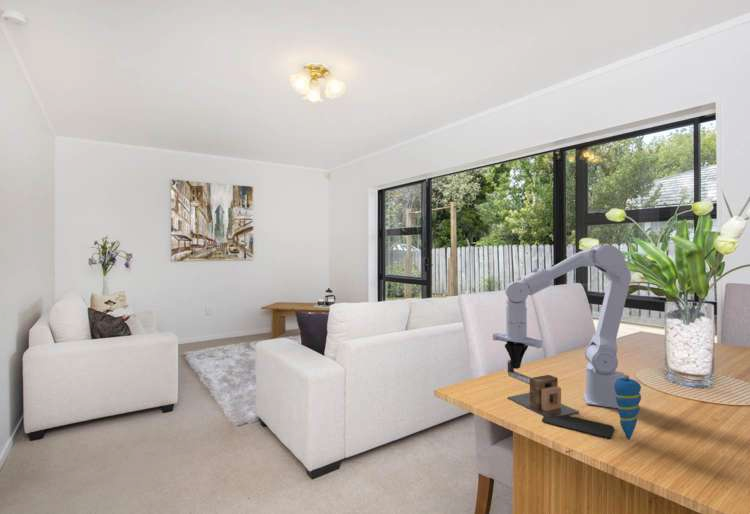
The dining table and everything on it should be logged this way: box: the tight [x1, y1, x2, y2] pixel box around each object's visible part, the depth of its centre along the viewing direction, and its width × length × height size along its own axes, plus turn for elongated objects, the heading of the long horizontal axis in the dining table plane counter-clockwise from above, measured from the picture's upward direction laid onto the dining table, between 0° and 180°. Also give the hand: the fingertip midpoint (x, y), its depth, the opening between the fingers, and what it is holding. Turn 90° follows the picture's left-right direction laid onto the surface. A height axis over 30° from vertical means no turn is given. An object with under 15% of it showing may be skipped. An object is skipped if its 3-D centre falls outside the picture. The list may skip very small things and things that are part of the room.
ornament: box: [614, 374, 642, 440], centre depth 88 cm, size 5×5×15 cm
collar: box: [541, 386, 562, 411], centre depth 104 cm, size 2×5×5 cm, turn 114°
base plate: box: [507, 392, 580, 418], centre depth 107 cm, size 16×10×1 cm, turn 24°
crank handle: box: [507, 359, 532, 386], centre depth 112 cm, size 13×2×5 cm, turn 23°
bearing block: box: [529, 374, 559, 409], centre depth 106 cm, size 3×7×7 cm, turn 113°
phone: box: [541, 415, 615, 440], centre depth 95 cm, size 7×1×15 cm
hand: (516, 367), depth 115 cm, fingers closed
